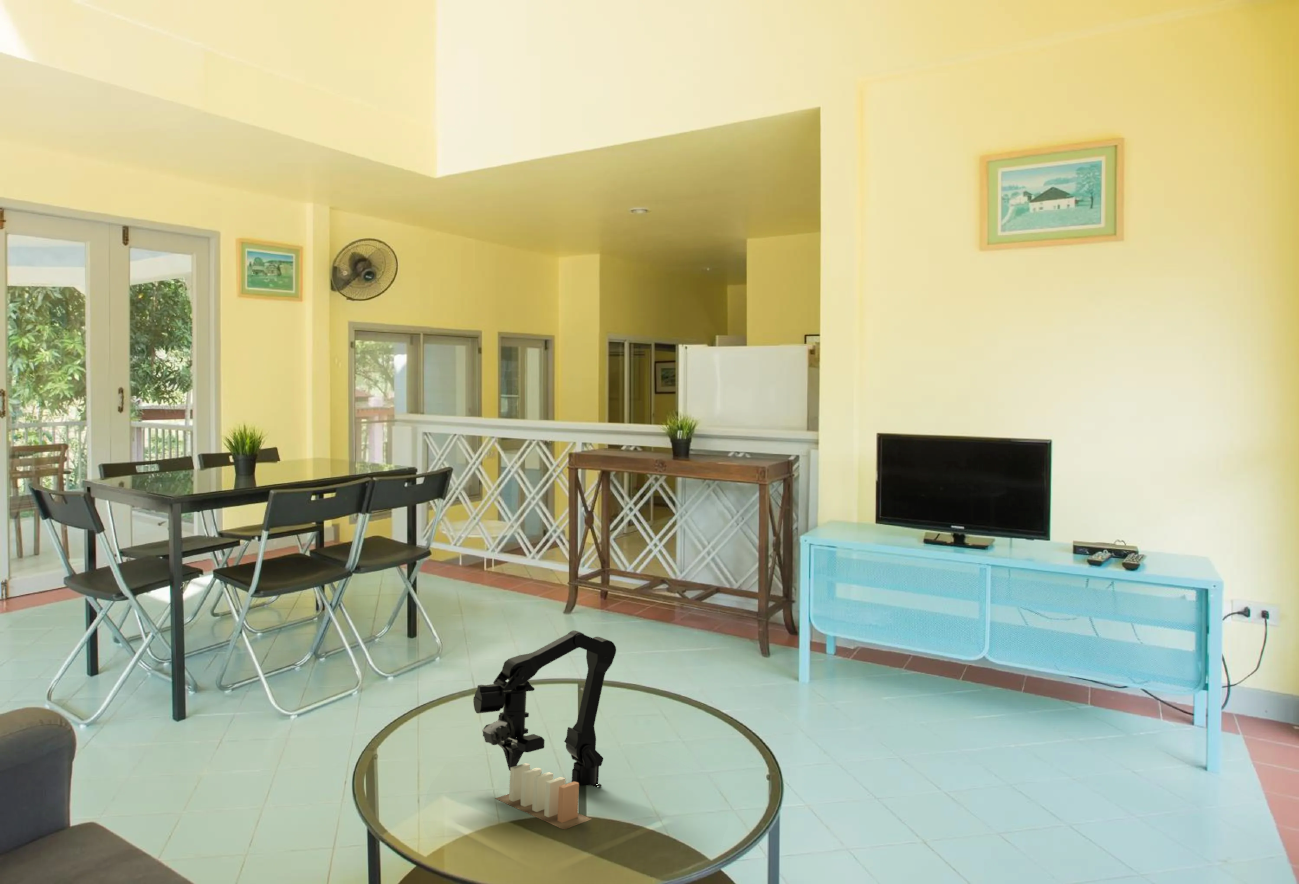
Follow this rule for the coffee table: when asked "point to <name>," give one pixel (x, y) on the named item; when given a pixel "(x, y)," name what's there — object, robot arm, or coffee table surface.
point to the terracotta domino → (568, 801)
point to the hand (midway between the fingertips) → (511, 770)
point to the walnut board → (540, 814)
